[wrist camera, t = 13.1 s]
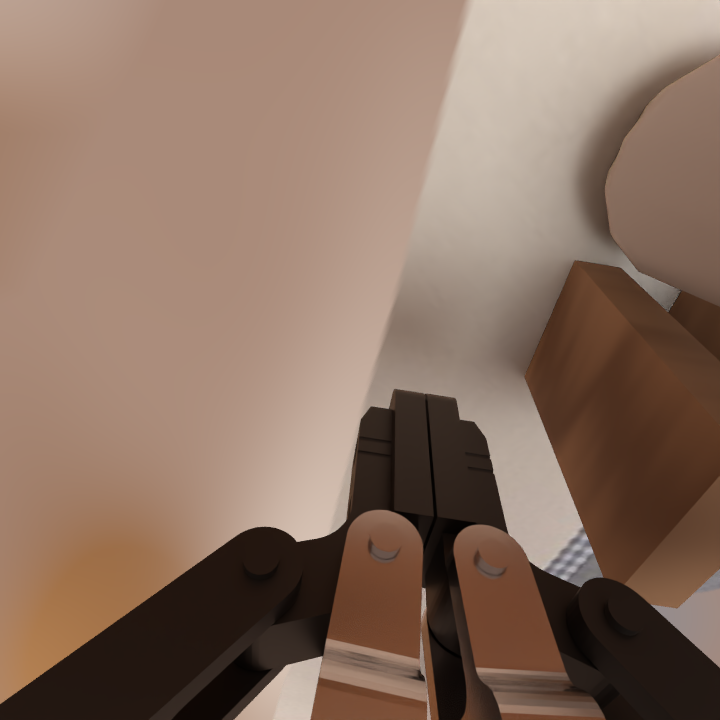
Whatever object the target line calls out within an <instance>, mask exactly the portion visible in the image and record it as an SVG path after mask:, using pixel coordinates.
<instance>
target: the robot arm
mask: <svg viewBox="0 0 720 720" xmlns="http://www.w3.org/2000/svg"><path fill="white" fill-rule="evenodd" d="M422 588H426V605H427V606H426V609H425V611H424V613H423V616H422V621H421V600H422ZM420 631H421V632H422V642H423V651H424V660H425V669H426V678H427V688H428V697H429V706H430V715H431V720H720V668H719V667H718V666H717V665H716V664H715V663H714V662H713V661H712V660H711V659H709V658H708V657H707V656H706V655H705V654H704V653H703V652H702V651H700V650H699V649H698V648H697V647H696V646H695V645H694V644H693V643H692V642H691V641H690V640H689V639H687V638H686V637H685V636H684V635H683V634H682V633H681V632H680V631H679V630H678V629H676V628H675V627H674V626H673V625H672V624H671V623H670V622H668V620H667V619H666V618H664V617H663V616H662V615H661V614H660V613H659V612H658V611H657V610H655V608H653V607H652V606H651V605H650V604H649V603H648V602H647V601H646V600H645V599H644V598H642V597H641V596H640V595H639V594H638V593H636V592H635V591H634V590H632V589H631V588H629V587H628V586H626V585H624V584H622V583H620V582H618V581H615V580H612V579H608V578H593V579H590V580H588V581H587V582H585V583H584V584H583V586H582V587H581V588H580V587H578V586H576V585H573V584H571V583H569V582H567V581H565V580H562V579H560V578H558V577H556V576H554V575H551V574H549V573H547V572H545V571H543V570H541V569H539V568H538V567H536V566H535V565H533V564H532V563H531V562H529V560H528V558H527V556H526V554H525V552H524V550H523V549H522V548H521V546H520V545H519V544H518V543H517V542H516V541H515V540H514V539H513V538H512V537H511V536H509V534H508V531H507V527H506V523H505V519H504V514H503V510H502V506H501V501H500V497H499V493H498V488H497V484H496V480H495V475H494V474H493V467H492V462H491V459H490V454H489V449H488V445H487V440H486V438H485V436H484V435H483V434H482V432H481V431H480V429H479V428H478V427H477V425H476V424H475V423H474V422H471V421H464V420H460V419H459V413H458V407H457V401H456V399H455V398H451V397H444V396H438V395H431V394H425V395H424V394H423V393H417V392H411V391H404V390H398V389H394V391H393V394H392V399H391V403H390V407H389V409H385V408H378V407H372V406H371V407H370V408H369V410H368V411H367V412H366V414H365V415H364V416H363V417H362V419H361V422H360V427H359V433H358V438H357V444H356V449H355V454H354V460H353V467H352V476H351V484H350V493H349V502H348V511H347V520H346V522H345V523H344V524H343V525H342V526H341V527H340V528H339V529H338V530H337V531H335V532H333V533H332V534H330V535H327V536H325V537H322V538H318V539H312V540H306V541H301V542H296V540H295V539H294V538H293V537H292V536H290V535H289V534H288V533H286V532H284V531H282V530H279V529H277V528H271V527H257V528H253V529H249V530H247V531H244V532H242V533H240V534H239V535H237V536H236V537H234V538H233V539H231V540H230V541H229V542H227V543H226V544H225V545H223V546H222V547H220V548H219V549H217V550H216V551H215V552H213V553H212V554H210V555H209V556H207V557H206V558H205V559H203V560H202V561H200V562H199V563H198V564H196V565H195V566H194V567H192V568H191V569H189V570H188V571H186V572H185V573H184V574H182V575H181V576H179V577H178V578H177V579H175V580H174V581H172V582H171V583H170V584H168V585H167V586H165V587H164V588H163V589H161V590H160V591H158V592H157V593H156V594H154V595H153V596H151V597H150V598H149V599H147V600H146V601H145V602H143V603H142V604H140V605H139V606H137V607H136V608H135V609H133V610H132V611H130V612H129V613H128V614H126V615H125V616H123V617H122V618H120V619H119V620H118V621H116V622H115V623H114V624H112V625H111V626H109V627H108V628H107V629H105V630H104V631H102V632H101V633H100V634H98V635H97V636H95V637H94V638H93V639H91V640H90V641H88V642H87V643H85V644H84V645H83V646H81V647H80V648H78V649H77V650H76V651H74V652H73V653H71V654H70V655H69V656H67V657H66V658H64V659H63V660H62V661H60V662H59V663H57V664H56V665H55V666H53V667H52V668H50V669H49V670H48V671H46V672H45V673H43V674H42V675H40V676H39V677H38V678H36V679H35V680H33V681H32V682H31V683H29V684H28V685H26V686H25V687H24V688H22V689H21V690H20V691H18V692H17V693H15V694H14V695H12V696H11V697H10V698H8V699H7V700H5V701H4V702H3V703H1V704H0V720H233V719H235V718H236V717H237V716H238V715H239V714H240V713H241V711H242V710H243V709H244V708H245V707H246V706H247V705H248V704H249V703H250V702H251V701H252V700H253V699H254V698H255V697H256V696H257V695H258V694H259V693H260V692H261V691H262V690H263V689H264V688H265V687H266V686H267V685H268V684H269V683H270V682H271V681H272V680H273V679H274V678H275V677H276V676H277V675H278V673H279V672H280V671H281V670H282V669H283V668H284V667H285V666H286V665H288V664H292V663H296V662H300V661H304V660H308V659H312V658H316V657H320V656H323V658H322V663H321V668H320V673H319V678H318V684H317V689H316V694H315V699H314V704H313V709H312V714H311V719H310V720H427V690H426V682H425V678H424V676H423V675H422V674H421V671H420Z"/></svg>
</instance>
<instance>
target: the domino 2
mask: <svg viewBox="0 0 720 720" xmlns="http://www.w3.org/2000/svg"><path fill="white" fill-rule="evenodd" d="M669 314H670V315H671V316H672V317H673V318H674V319H676V320H677V321H678V322H679V323H680V324H681V325H682V326H683V327H684V328H685V329H686V330H687V331H688V332H689V333H690V334H691V335H692V336H694V337H695V338H696V339H697V340H698V341H699V342H700V343H701V344H702V345H703V346H704V347H705V348H706V349H707V350H708V351H709V352H710V353H712V354H713V355H714V356H715V357H716V358H717V359H718V360H719V361H720V307H719V306H717V305H715V304H712V303H710V302H708V301H705V300H703V299H701V298H699V297H696V296H694V295H692V294H689V293H687V292H685V291H681V293H680V295H679V296H678V298H677V300H676V301H675V303H674V305H673V306H672V308H671V310H670V311H669Z"/></svg>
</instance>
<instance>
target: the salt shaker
mask: <svg viewBox="0 0 720 720" xmlns="http://www.w3.org/2000/svg"><path fill="white" fill-rule="evenodd" d="M605 197H606V205H607V212H608V220H609V227H610V233H611V235H612V237H613V239H614V240H615V242H616V243H617V244H618V246H619V247H620V248H621V250H622V251H623V252H624V253H625V255H626V256H627V257H628V259H629V260H630V261H631V262H632V264H633V265H634V266H635V268H636V269H637V270H638V271H639V272H641V273H643V274H645V275H648V276H650V277H652V278H655V279H657V280H659V281H662V282H664V283H666V284H669V285H671V286H673V287H675V288H678V289H680V290H682V291H685V292H687V293H689V294H692V295H694V296H696V297H699V298H701V299H703V300H705V301H708V302H710V303H712V304H715V305H717V306H719V307H720V55H718V56H717V57H715V58H713V59H712V60H710V61H708V62H707V63H705V64H703V65H702V66H700V67H698V68H697V69H695V70H693V71H692V72H690V73H688V74H687V75H685V76H683V77H682V78H680V79H678V80H677V81H675V82H673V83H672V84H670V85H668V86H667V87H665V88H664V89H663V90H662V91H661V92H660V93H659V94H658V95H657V96H656V97H655V98H654V99H653V100H652V101H651V102H650V103H649V104H648V105H647V106H646V107H645V109H644V111H643V112H642V114H641V116H640V117H639V119H638V121H637V123H636V124H635V125H634V127H633V128H632V129H631V130H630V132H629V133H628V134H627V135H626V137H625V138H624V140H623V142H622V145H621V148H620V150H619V153H618V155H617V157H616V159H615V160H614V162H613V164H612V166H611V167H610V169H609V171H608V175H607V180H606V185H605Z"/></svg>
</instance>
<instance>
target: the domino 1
mask: <svg viewBox="0 0 720 720" xmlns="http://www.w3.org/2000/svg"><path fill="white" fill-rule="evenodd" d="M525 379H526V382H527V384H528V387H529V389H530V392H531V395H532V397H533V400H534V402H535V405H536V407H537V410H538V412H539V415H540V417H541V420H542V422H543V425H544V428H545V430H546V433H547V435H548V438H549V440H550V443H551V445H552V448H553V450H554V453H555V455H556V458H557V461H558V463H559V466H560V468H561V471H562V473H563V476H564V478H565V481H566V483H567V486H568V488H569V491H570V494H571V496H572V499H573V501H574V504H575V506H576V509H577V511H578V514H579V516H580V519H581V521H582V524H583V527H584V529H585V532H586V534H587V537H588V539H589V542H590V544H591V547H592V549H593V552H594V554H595V557H596V559H597V562H598V565H599V567H600V570H601V572H602V575H603V577H604V578H608V579H612V580H615V581H618V582H620V583H622V584H624V585H626V586H628V587H629V588H631V589H632V590H634V591H635V592H636V593H638V594H639V595H640V596H641V597H642V598H644V599H645V600H646V601H647V602H648V603H649V604H652V605H659V606H665V607H672V608H678V607H679V606H680V605H681V604H682V603H683V602H685V601H686V600H687V599H688V598H689V597H690V596H691V595H692V594H693V593H694V592H695V591H696V590H697V589H698V588H700V587H701V586H702V585H703V584H704V583H705V582H706V581H707V580H708V579H709V578H710V577H711V576H712V575H713V574H714V573H715V572H717V571H718V570H719V569H720V361H719V360H718V359H717V358H716V357H715V356H714V355H713V354H712V353H710V352H709V351H708V350H707V349H706V348H705V347H704V346H703V345H702V344H701V343H700V342H699V341H698V340H697V339H696V338H695V337H694V336H692V335H691V334H690V333H689V332H688V331H687V330H686V329H685V328H684V327H683V326H682V325H681V324H680V323H679V322H678V321H677V320H676V319H674V318H673V317H672V316H671V315H670V314H669V313H668V312H667V311H666V310H665V309H664V308H663V307H662V306H661V305H660V304H659V303H657V302H656V301H655V300H654V299H653V298H652V297H651V296H650V295H649V294H648V293H647V292H646V291H645V290H644V289H643V288H642V287H641V286H639V285H638V284H637V283H636V282H635V281H634V280H633V279H632V278H631V277H630V276H629V275H628V274H627V273H626V272H625V271H624V270H622V269H621V268H619V267H613V266H607V265H600V264H594V263H588V262H582V261H576V260H575V262H574V264H573V266H572V268H571V271H570V273H569V275H568V278H567V280H566V282H565V285H564V287H563V289H562V291H561V294H560V296H559V298H558V301H557V303H556V305H555V308H554V310H553V312H552V314H551V317H550V319H549V321H548V324H547V326H546V328H545V331H544V333H543V335H542V337H541V340H540V342H539V344H538V347H537V349H536V351H535V354H534V356H533V358H532V360H531V363H530V365H529V367H528V370H527V372H526V374H525Z"/></svg>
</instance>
